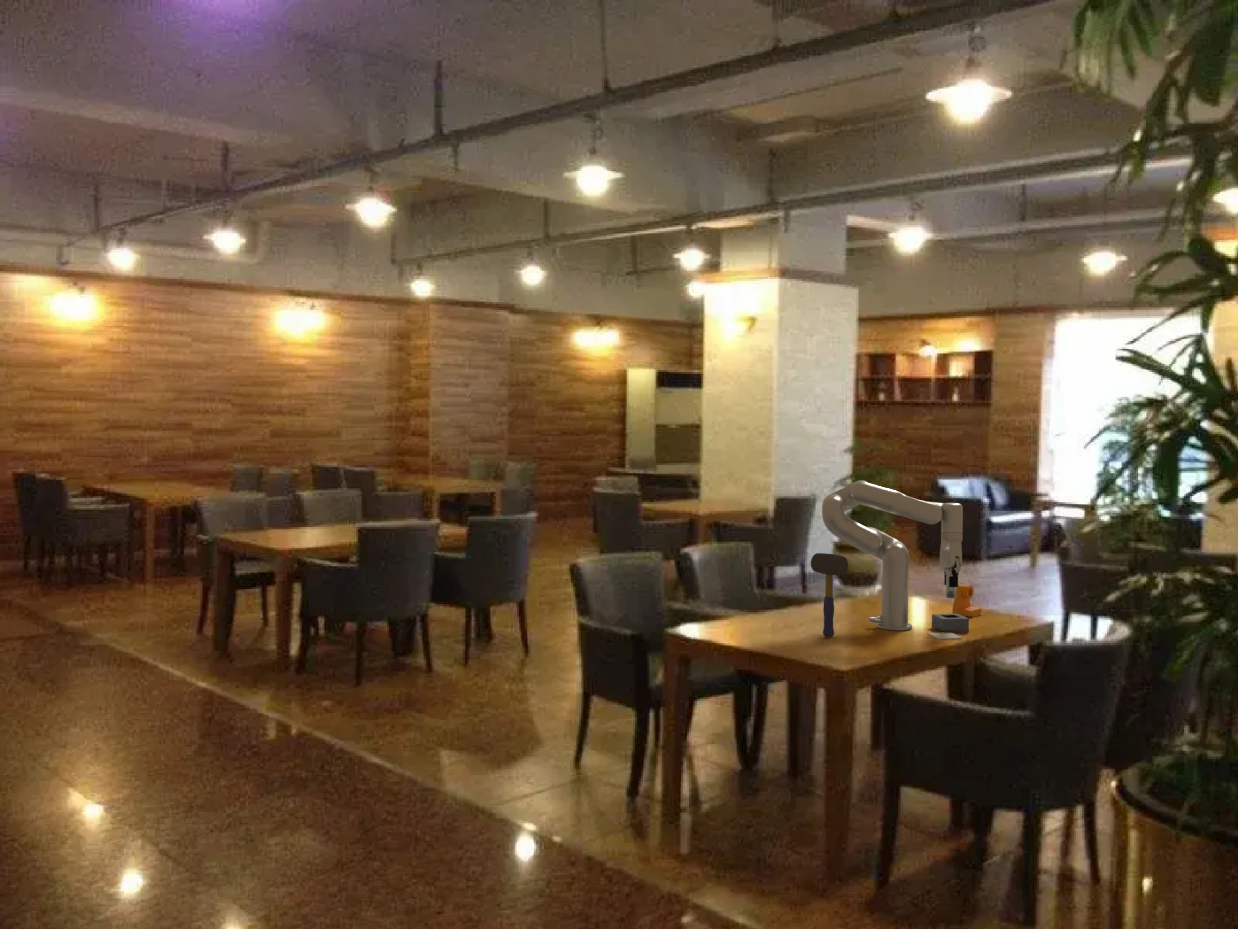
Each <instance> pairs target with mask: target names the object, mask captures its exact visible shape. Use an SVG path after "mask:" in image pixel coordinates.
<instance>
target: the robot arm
mask: <svg viewBox="0 0 1238 929" xmlns="http://www.w3.org/2000/svg"><path fill="white" fill-rule="evenodd" d="M859 505H862V506H864V507H868V508H872V509H874V510H875V509H876V510H880V511H883V512H886V513H890V514H892V515H896V516H901V517H904V518H908V519H911V520H913V521H918V522H921V523H924V524H927V525H935V524H937V523H938V524H939V522H941V525H940V526H941V527H940V528H941V529H940V530H941V531H940V534H941V535H940V540H941V541H940V542H941V543H940V549H939V565H940V566H941V567H943V570H944V571H943V574H944V578H943V579H944V581H943V583H944V586H946V568H950V576H949V587H956V588H957V587H958V585H959V573H960V571H961V568H962V565H963V549H962V547H963V546H962V542H963V531H964V530H963V526H964V525H963V522H964V521H963V518H964V516H963V514H964V512H963V511H964V509H963V508H964V507H963V505H962V504H961V503H957V502H945V503H944V502H935V501H925V500H920V499H917V498H914V497H911V496H908V495H907V494H904V493H902V492H900V491H898V490H895V489H891V488H887V487H883V486H880V485H877V484H873V483H870V482H867V480H856V481H854V482H852V483H851V484H848V485H847V486H844V487H842V488H840V489H838V490H836V491H834V492H832V493H830V494H828V495H826V496H825V497H824V499H823V500H822V503H821V516H822V521H823V524H824V526H825V528H826V529H827V530H828V531H829V533H831V534H832V535H834V536H835V537H836V538H838V539H841V540H842V541H843V542H845V543H846V544H849V545H851V546H852V547H854V548H856V549H858V551H861V552H862V553H864V554H867V555H871V556H874V557H875V558H877V559H879V560H881V562H882V564H881V565H882V567H881V568H882V569H881V572H882V573H881V614H878V616H870V617H868V622H869V623H875V624H877V625H876V626H877V627H878V628H879V629H882V630H886V631H908V630H912V629H913V625H912V624H911V623H909V574H910V573H909V572H910V554H909V551H908V548H907V547H906V545H905V544H904V543H903V542H902V541H900V540H898V539H896V538H894V537H892V535H891V536H890V535H889V534H887V533H885V532H883V531H881V530H880V529H877V528H875V527H872V526H865V525H863V524H861V523H859V522H858V521H856V520H854V519H852V518H851V517H849V516H847V515H846V511H849V510H851V509H854V508H856V507H857V506H859ZM953 566H955V567H956V568H952V567H953ZM953 569H955V570H953Z"/></svg>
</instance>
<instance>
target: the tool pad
mask: <svg viewBox="0 0 1238 929" xmlns="http://www.w3.org/2000/svg"><path fill="white" fill-rule="evenodd" d="M927 635H929V636H930V637H932V638H934V639H936V640H959V639H958V638H962V639H963V637H962V636H960V635H959V634H956V633H955V632H953V633H942V632H927Z"/></svg>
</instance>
